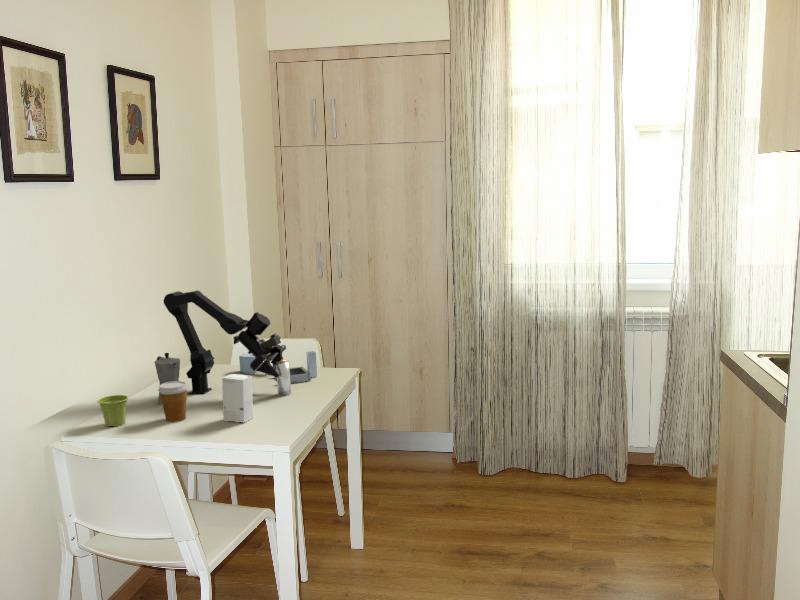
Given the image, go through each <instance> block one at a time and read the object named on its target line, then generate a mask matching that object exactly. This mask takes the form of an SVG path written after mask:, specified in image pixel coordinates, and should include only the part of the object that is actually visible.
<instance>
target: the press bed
mask: <svg viewBox="0 0 800 600" xmlns="http://www.w3.org/2000/svg"><path fill="white" fill-rule="evenodd" d="M306 366H307V368H305V367H304V366H297V367H290V383H292V384H298V383H297V382H300V383H305V381H307V382H311V380H312V379H311V377H313V378H318V373H317V372H318V369H317V354H316V352H315V351H314V350H311V351H306ZM276 372H277V371H276ZM273 377H274V376H273ZM274 379H275V380H276V381H277V377H274Z"/></svg>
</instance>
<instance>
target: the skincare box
mask: <svg viewBox="0 0 800 600" xmlns="http://www.w3.org/2000/svg"><path fill="white" fill-rule="evenodd" d="M253 403H254V401H253V376H252V375H248V374H239V373H237V374H235V373H229V374H228V375H225V376H223V377H222V414H223V415H222V416H223V419H222V420H223V422H228V421H235V422H234V423H239V422H243V423H242V424H244V422H245V423H247V422H248V420H249V421H251V420H252V419H254V413H253V412H254V407H253V405H254V404H253ZM250 419H251V420H250ZM246 421H247V422H246Z"/></svg>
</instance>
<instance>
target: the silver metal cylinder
mask: <svg viewBox="0 0 800 600" xmlns="http://www.w3.org/2000/svg"><path fill="white" fill-rule="evenodd" d="M290 368H291V367H290V361H288V360H286V359H285V358H283V359H281V360H280V361H279V362H276V371H277V373H278V374H279V377H277V380H276V381H277V383H276V385H277V395H278V396H279V397H286V395H288V396H290V394H291V395H292V386H291V385H292V384H291V383H290Z"/></svg>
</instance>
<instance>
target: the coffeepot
mask: <svg viewBox="0 0 800 600" xmlns="http://www.w3.org/2000/svg"><path fill="white" fill-rule="evenodd" d="M169 354H170V353H169V352H165V353H164V356H160V355H159V356H157V357H156V360H155V361H154V367H155V369H156V375H157V378H158V383H159V385H158V387H159V386H160V385H161V384H163V383H166V382H172V381H180V372H181V371H180V367H181V359H180V358H177V357H169V356H170V355H169ZM157 401H158V404H159V405H163V404H162V400H161V395H160V393H159V392H158V399H157Z"/></svg>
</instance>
